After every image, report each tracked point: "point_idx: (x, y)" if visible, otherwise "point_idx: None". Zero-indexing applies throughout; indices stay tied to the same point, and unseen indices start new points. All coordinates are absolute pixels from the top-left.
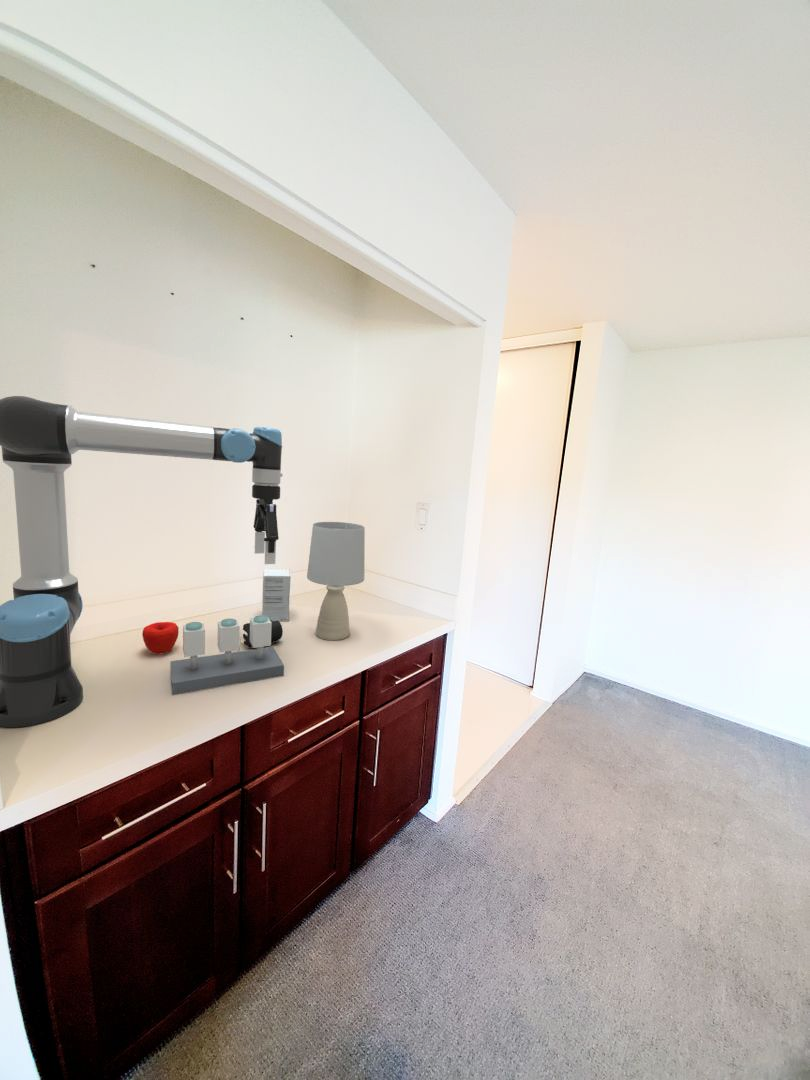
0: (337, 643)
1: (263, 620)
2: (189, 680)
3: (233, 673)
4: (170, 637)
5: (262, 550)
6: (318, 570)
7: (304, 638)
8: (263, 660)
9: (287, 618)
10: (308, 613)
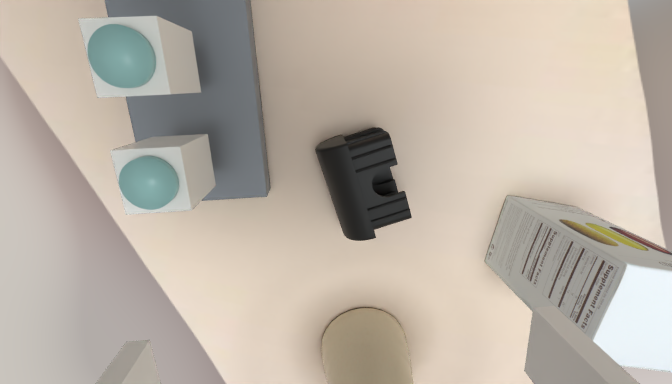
0: (305, 338)
1: (122, 189)
2: None
3: None
4: None
5: (540, 378)
6: None
7: (357, 277)
8: None
9: (488, 263)
10: (518, 318)
